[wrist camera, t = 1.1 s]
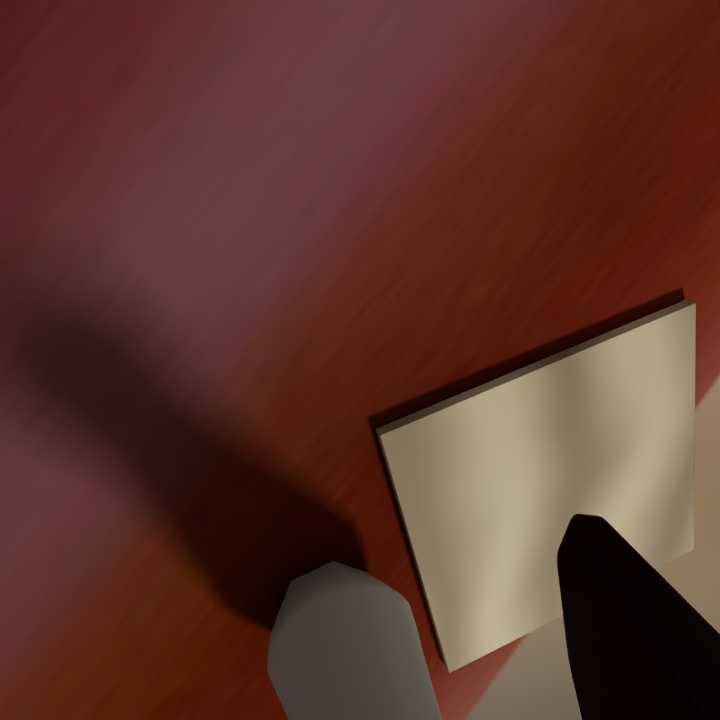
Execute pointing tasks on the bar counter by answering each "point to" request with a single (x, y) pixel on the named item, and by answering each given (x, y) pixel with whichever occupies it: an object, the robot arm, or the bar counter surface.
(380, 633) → the salt shaker
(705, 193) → the bar counter surface
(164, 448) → the bar counter surface
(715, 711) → the robot arm
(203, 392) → the bar counter surface
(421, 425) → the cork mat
